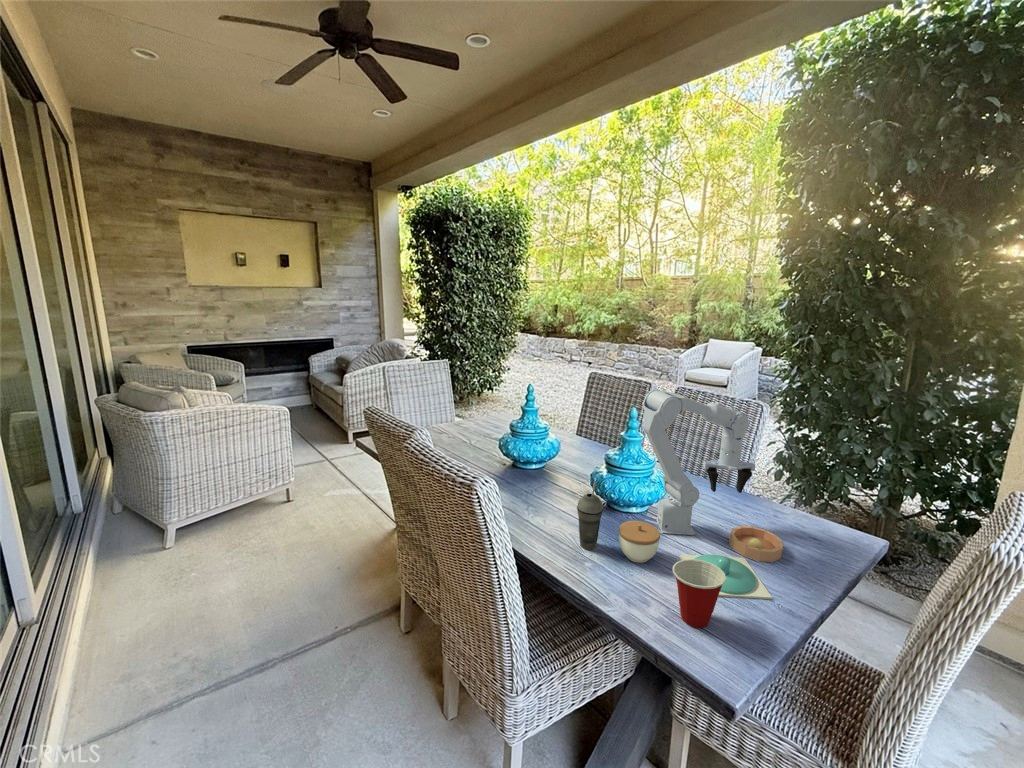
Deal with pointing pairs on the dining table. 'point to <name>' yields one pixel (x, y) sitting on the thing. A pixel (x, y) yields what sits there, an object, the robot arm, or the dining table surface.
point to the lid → (732, 574)
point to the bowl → (756, 543)
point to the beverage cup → (589, 519)
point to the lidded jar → (638, 540)
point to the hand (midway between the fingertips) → (725, 490)
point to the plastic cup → (697, 590)
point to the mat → (757, 592)
